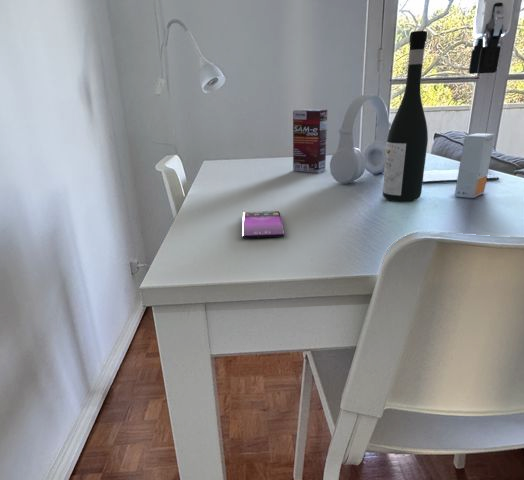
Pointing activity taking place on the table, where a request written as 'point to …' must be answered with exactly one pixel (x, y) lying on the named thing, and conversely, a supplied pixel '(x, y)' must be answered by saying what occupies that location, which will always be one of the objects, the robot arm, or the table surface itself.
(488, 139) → the cosmetic box
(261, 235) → the smartphone
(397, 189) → the wine bottle
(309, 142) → the supplement box
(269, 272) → the table surface
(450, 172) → the mat
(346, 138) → the headphones
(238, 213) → the table surface
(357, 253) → the table surface
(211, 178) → the table surface
